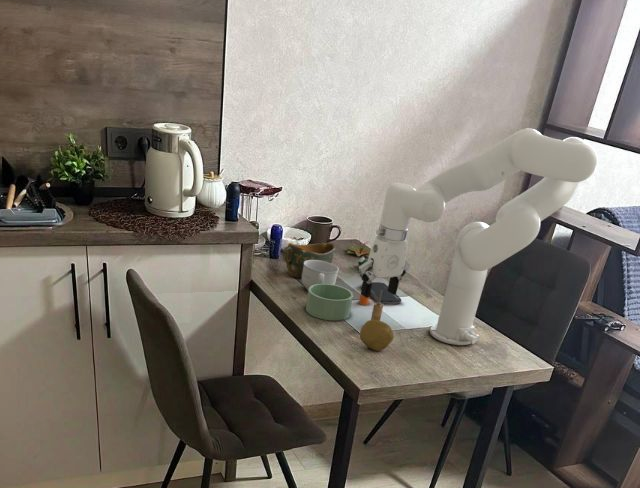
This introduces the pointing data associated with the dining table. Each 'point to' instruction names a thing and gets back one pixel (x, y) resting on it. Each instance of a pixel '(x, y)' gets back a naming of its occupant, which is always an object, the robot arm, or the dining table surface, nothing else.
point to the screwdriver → (364, 299)
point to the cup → (306, 255)
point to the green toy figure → (362, 261)
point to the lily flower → (359, 250)
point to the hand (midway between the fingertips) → (378, 294)
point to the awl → (377, 309)
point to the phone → (383, 294)
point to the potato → (376, 334)
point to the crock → (329, 301)
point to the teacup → (318, 273)
